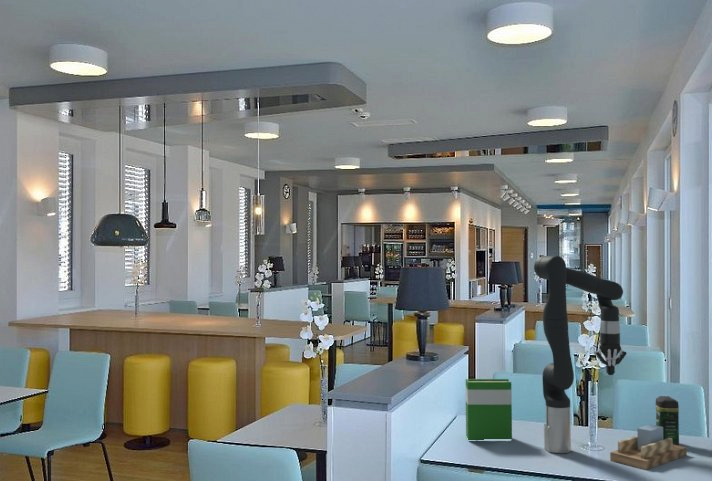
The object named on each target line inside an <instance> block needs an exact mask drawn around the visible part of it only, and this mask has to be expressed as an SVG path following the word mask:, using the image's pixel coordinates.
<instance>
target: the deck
mask: <svg viewBox="0 0 712 481" xmlns="http://www.w3.org/2000/svg"><path fill="white" fill-rule="evenodd" d="M687 452H688V451H687V447H686V446H682V445H674V444H673V443H672V438H667V439H664V440H661V441H658V442H655V443H651V444H648V445H645V446H642V447H641V450H638V435H636V436H632V437H629V438H625V439H623V440H619V441H617V450H613V451H611V452H609V454H610V462H614V463H618V464H621V465H627V466H630V467H633V468H638V469H642V470H646V471H647V470H649V468H650V469H653V468H655V467H657V466H661V465H663V464H667V463H669V462H672V461H674V460H678V459H681V458H683V457H686V456H687V455H688V454H687ZM652 467H653V468H652Z"/></svg>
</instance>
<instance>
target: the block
mask: <svg viewBox="0 0 712 481" xmlns="http://www.w3.org/2000/svg"><path fill="white" fill-rule="evenodd" d="M637 436H638V450H641V447H642V446H645V445H648V444H651V443H655V442H658V441H661V440H663V427H661V426H657V425H656V424H651V423H650V424H647V425H643V426H640V427H637Z"/></svg>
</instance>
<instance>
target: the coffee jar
mask: <svg viewBox="0 0 712 481" xmlns="http://www.w3.org/2000/svg"><path fill="white" fill-rule="evenodd" d="M679 408H680V405H679V402H678V400H676V399H674V398H673V397H671V396H667V395H666V396H664V395H659V396H658V397H656V398H655V425H657V426H661V427H663V440H664V439H667V438H672V443H673V444H674V445H678V446H680V427H679V426H680V424H679V419H680V416H679V413H680V412H679V410H680V409H679Z"/></svg>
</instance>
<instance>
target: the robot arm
mask: <svg viewBox="0 0 712 481" xmlns="http://www.w3.org/2000/svg"><path fill="white" fill-rule="evenodd" d="M533 270H534V272H535V275H536V276H537V277H539V278H540V279H543V280H548V285H549V286H548V287H549V291H548V297H547V300H546V303H545V305H544V308H543V312H542V324H543V326H542V327H543V333H544V336H545V338H546V341H547V344H548V345H549V348H550V350H551V355H552V362H550V363H548V364H546V366H544V368H543V371H542V377H541V378H542V393H543V394H542V395H543V399H544V401H545V423H544V425H543V426H544V427H543V432H544V435H543V436H544V444H543V445H544V449H545V450H546V451H547V452H548V453H554V454H567V453H571V452H572V438H571V436H572V434H571V433H572V432H571V430H572V429H571V424H572V423H571V422H572V421H571V417H572V416H571V399H570V397H568V395H567V392H566V390H569V389H570V388H571V387H572V385H573V383H574V378H575V377H574V376H575V374H574V367H573V362H572V357H571V348H570V338H569V335H570V334H569V319H568V308H567V307H568V306H567V285H569V286H572V287H574V288H576V289H579V290H581V291H584V292H586V293H589V294H594V295H596V298H597V299H596V300H597V303H598V306H599V310H600V325H599V327H600V328H599V335H600V338H599V339H600V340H599V341H600V345H599V348H598V350H596V351H594V355H595V357H596V358H597V359H598V361H600V363H601V364H603V365H605V366H606V369H605V370H606V374H607V375H608V376H614V374H615V372H616V369H615V367H616V365H620V363H621V362H622V361H623V359H624V358H625V357H626V355H627V352H626V351H625V350H623V349H622V346H621V325H620V310H619V307H618V306H616V305H614V304H613V302H612V301H616V300H619V299H621V298H622V297H623V296H624V288H623V287H622V285H620V284H619V283H618V282H615V281H612V280H608V279H604V278H601V277H598V276H596V275H594V274H591V273H589V272H585V271H580V270H578V269H573V268H569V267H567V264H566V261H565V260H564V258H563V257H561V256H559V255H543V256H539V257H538V258H537V259H536V260H535V261H534V264H533ZM603 356H604V357H603Z"/></svg>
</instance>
